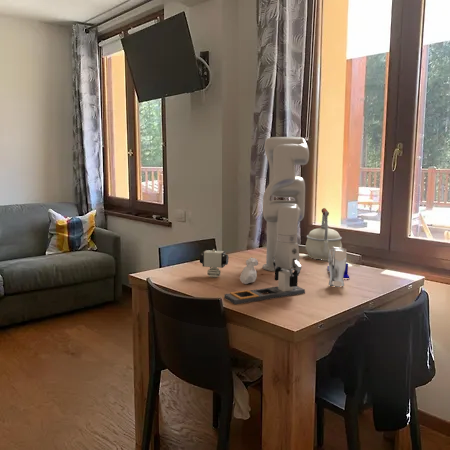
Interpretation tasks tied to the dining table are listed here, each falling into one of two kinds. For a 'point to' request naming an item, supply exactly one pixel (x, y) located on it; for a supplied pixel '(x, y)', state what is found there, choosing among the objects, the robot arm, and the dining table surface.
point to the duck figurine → (249, 271)
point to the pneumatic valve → (214, 261)
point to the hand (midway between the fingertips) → (285, 283)
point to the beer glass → (337, 266)
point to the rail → (260, 294)
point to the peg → (284, 281)
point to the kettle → (322, 240)
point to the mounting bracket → (344, 272)
